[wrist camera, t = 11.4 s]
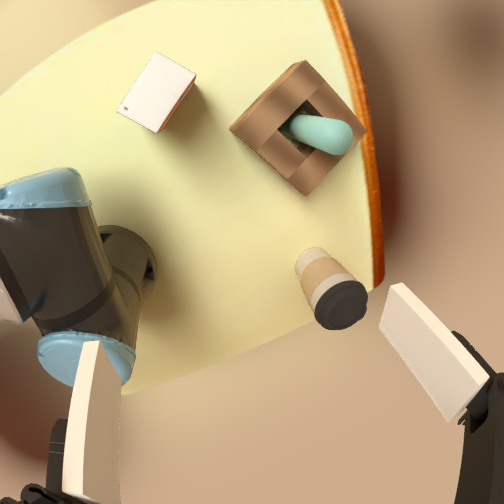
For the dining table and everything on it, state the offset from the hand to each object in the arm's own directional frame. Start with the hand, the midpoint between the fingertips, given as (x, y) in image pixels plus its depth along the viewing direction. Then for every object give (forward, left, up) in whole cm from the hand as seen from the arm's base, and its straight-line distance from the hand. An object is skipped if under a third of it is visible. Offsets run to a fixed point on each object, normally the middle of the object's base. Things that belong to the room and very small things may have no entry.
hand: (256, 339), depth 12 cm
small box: (+4, +12, -34) cm, 36 cm away
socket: (+14, -6, -34) cm, 37 cm away
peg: (+14, -6, -34) cm, 37 cm away
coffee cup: (-1, -26, -34) cm, 43 cm away
